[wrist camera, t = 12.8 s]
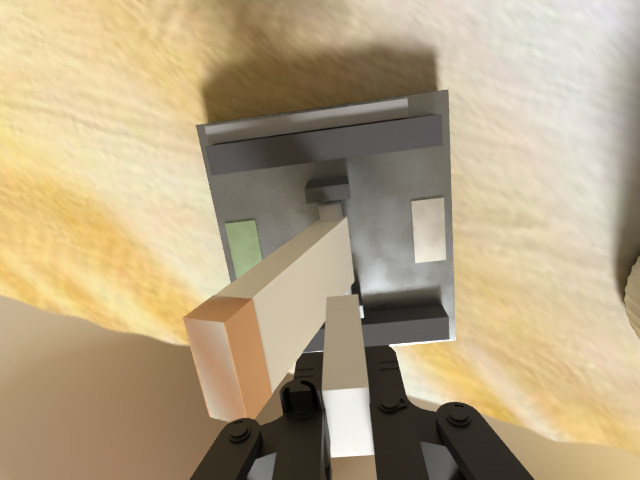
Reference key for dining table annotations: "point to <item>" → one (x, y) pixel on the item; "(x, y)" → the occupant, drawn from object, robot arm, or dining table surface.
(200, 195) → the dining table surface
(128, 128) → the dining table surface
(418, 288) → the panel
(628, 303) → the canister
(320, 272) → the lever
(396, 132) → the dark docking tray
